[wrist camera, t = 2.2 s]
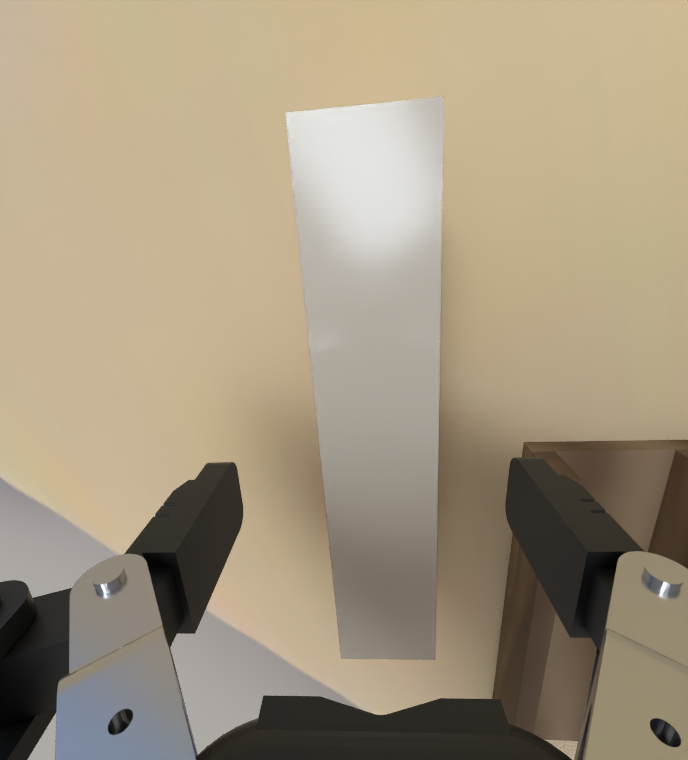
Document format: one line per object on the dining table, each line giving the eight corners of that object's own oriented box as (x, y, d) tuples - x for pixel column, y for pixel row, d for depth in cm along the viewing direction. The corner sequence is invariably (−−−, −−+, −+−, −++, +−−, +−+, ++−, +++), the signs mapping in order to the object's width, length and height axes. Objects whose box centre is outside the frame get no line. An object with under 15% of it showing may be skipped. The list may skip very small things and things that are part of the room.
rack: (830, 438, 20) (923, 476, 16) (707, 729, 28) (753, 794, 24) (524, 442, 21) (553, 478, 17) (490, 721, 29) (505, 782, 25)
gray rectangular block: (409, 164, 17) (443, 96, 9) (413, 526, 23) (435, 659, 16) (321, 172, 17) (285, 112, 10) (349, 527, 24) (340, 658, 16)
